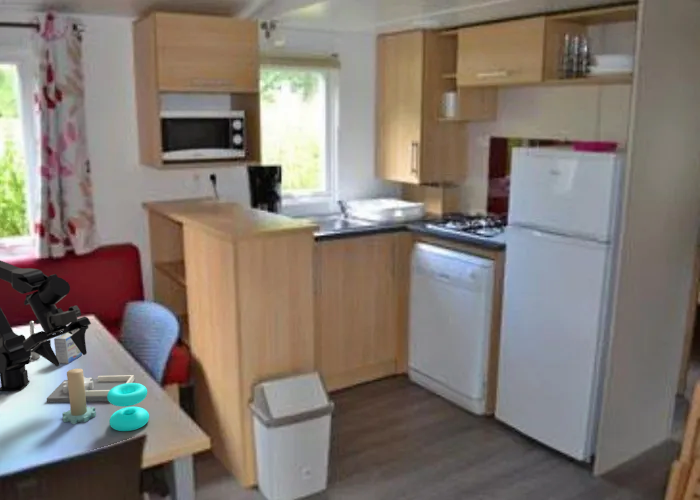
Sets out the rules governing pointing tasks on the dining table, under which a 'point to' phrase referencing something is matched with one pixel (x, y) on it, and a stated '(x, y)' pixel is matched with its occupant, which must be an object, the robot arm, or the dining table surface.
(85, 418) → the gear
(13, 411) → the dining table surface
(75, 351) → the medicine box
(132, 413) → the donuts
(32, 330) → the screw
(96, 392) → the carrier plate
